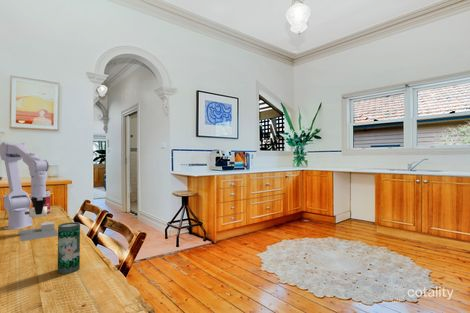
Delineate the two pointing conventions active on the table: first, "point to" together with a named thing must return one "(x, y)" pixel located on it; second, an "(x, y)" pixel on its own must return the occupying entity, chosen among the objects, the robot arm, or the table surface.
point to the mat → (36, 234)
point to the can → (68, 247)
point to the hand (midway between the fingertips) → (38, 213)
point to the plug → (33, 214)
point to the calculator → (47, 200)
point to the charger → (47, 226)
